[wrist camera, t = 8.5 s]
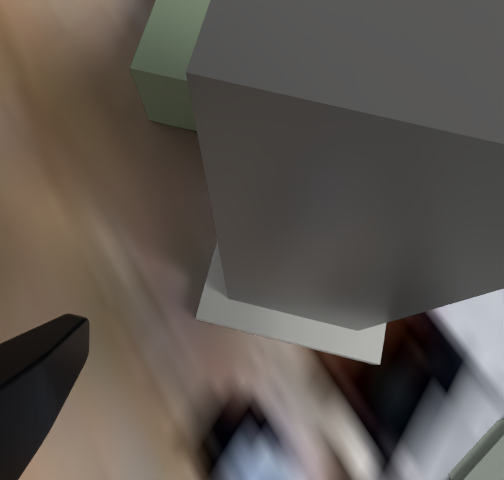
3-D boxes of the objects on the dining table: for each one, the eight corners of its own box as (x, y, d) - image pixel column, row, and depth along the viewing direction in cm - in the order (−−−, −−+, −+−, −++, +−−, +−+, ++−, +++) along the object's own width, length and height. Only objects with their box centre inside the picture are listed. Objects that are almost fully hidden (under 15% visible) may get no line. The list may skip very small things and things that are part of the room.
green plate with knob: (489, 393, 16) (628, 409, 10) (87, 292, 17) (8, 254, 11) (519, 20, 21) (622, -108, 15) (208, -46, 22) (197, -193, 16)
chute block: (357, 331, 16) (781, 206, 3) (227, 298, 16) (185, 73, 4) (378, 209, 17) (733, -194, 5) (258, 180, 18) (303, -274, 5)
